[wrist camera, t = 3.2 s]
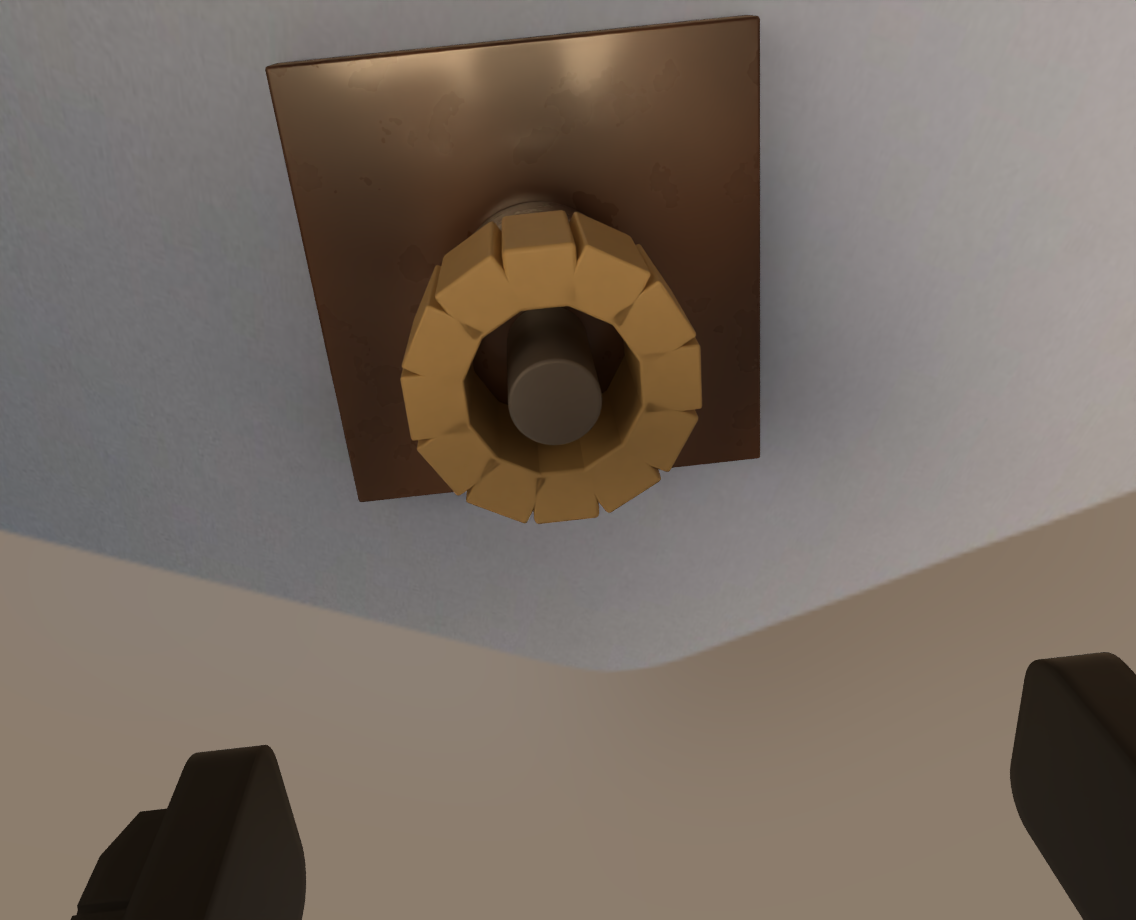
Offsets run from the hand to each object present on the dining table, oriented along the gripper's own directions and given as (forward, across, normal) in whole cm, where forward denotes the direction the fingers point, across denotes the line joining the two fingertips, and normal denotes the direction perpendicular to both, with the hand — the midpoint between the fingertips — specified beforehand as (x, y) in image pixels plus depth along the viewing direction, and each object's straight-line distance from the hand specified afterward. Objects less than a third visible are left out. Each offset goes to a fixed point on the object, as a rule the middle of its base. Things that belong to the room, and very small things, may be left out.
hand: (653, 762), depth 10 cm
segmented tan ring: (+12, 0, 0) cm, 13 cm away
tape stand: (+18, 0, 0) cm, 19 cm away
